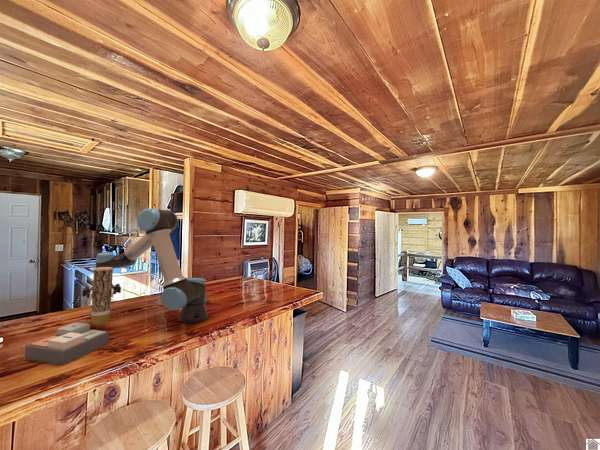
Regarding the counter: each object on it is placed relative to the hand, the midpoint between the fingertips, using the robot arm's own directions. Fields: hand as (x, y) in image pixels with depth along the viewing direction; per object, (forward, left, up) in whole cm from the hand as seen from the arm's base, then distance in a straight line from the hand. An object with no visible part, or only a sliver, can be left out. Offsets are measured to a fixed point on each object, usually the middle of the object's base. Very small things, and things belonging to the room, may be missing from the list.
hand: (101, 295), depth 108 cm
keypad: (+4, +9, -21) cm, 23 cm away
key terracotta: (+9, +13, -18) cm, 24 cm away
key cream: (0, +13, -16) cm, 20 cm away
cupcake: (-10, -64, -21) cm, 68 cm away
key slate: (+9, +4, -16) cm, 19 cm away
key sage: (0, +4, -18) cm, 19 cm away
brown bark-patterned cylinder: (+4, -3, -14) cm, 15 cm away
